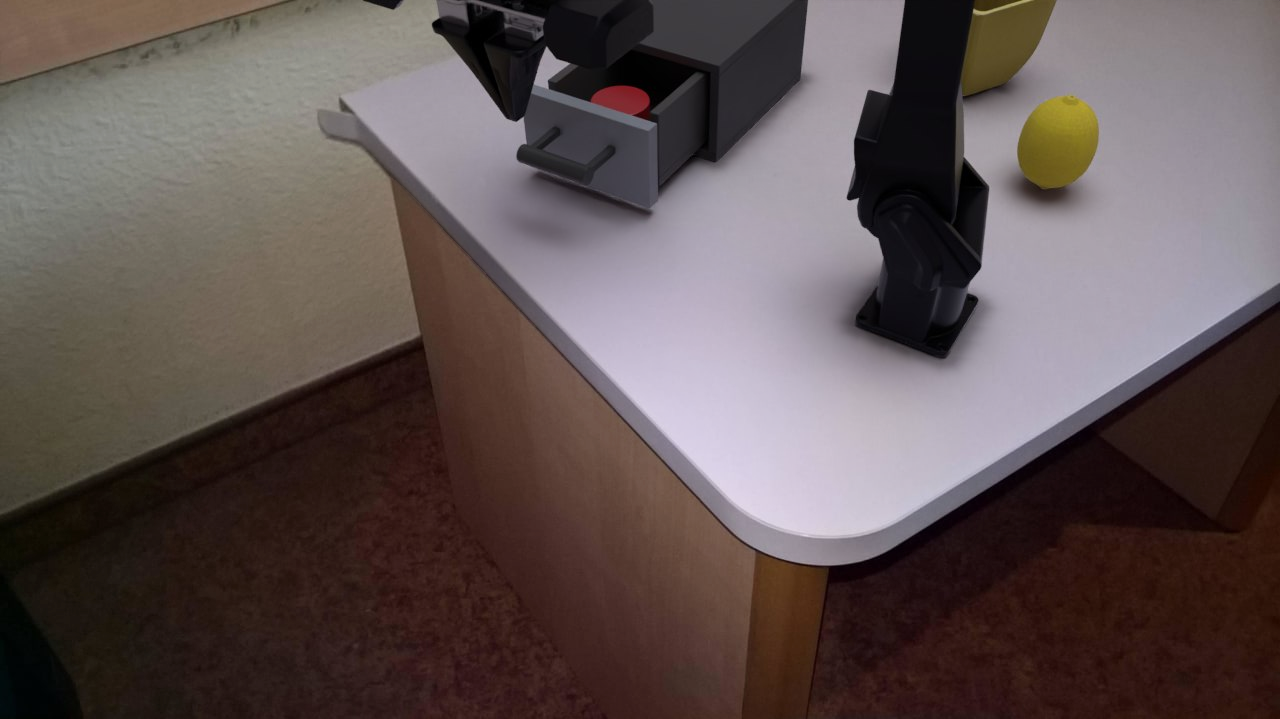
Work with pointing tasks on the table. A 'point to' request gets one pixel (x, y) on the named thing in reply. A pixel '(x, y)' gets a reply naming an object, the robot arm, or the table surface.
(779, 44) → the small drawer cabinet
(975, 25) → the flower pot
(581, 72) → the pod drawer
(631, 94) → the cylinder
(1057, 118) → the lemon
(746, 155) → the table surface
